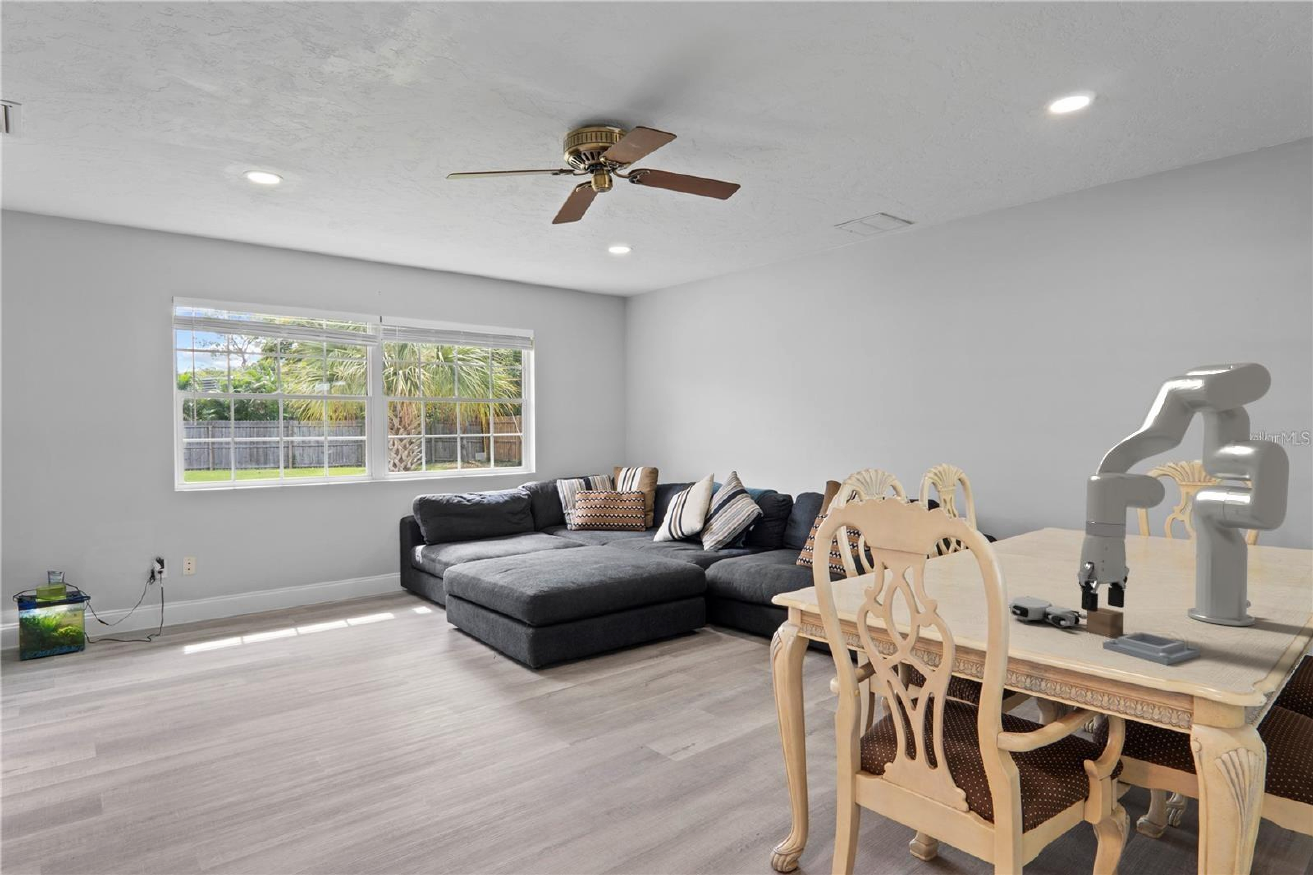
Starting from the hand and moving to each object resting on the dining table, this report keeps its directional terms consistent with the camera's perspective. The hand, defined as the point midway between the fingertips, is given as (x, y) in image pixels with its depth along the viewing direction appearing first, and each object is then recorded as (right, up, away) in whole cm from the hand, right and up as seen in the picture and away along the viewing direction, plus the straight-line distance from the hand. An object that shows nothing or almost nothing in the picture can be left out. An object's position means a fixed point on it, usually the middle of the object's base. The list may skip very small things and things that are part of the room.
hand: (1102, 608), depth 158 cm
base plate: (+2, -6, -13) cm, 14 cm away
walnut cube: (+1, -6, 0) cm, 6 cm away
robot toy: (-8, -6, +9) cm, 14 cm away
